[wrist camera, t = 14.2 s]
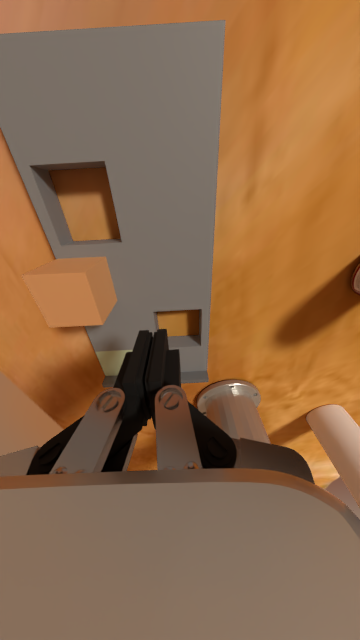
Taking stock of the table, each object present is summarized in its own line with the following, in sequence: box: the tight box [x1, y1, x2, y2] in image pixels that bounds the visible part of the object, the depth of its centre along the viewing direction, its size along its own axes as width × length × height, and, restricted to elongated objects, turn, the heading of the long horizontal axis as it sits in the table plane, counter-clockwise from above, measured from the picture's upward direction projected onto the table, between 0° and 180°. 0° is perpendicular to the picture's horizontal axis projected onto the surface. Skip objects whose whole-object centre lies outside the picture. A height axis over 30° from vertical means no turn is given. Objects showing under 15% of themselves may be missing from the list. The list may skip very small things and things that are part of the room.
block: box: [21, 257, 117, 327], centre depth 17 cm, size 5×5×5 cm
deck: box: [0, 20, 225, 387], centre depth 20 cm, size 32×16×4 cm, turn 3°
